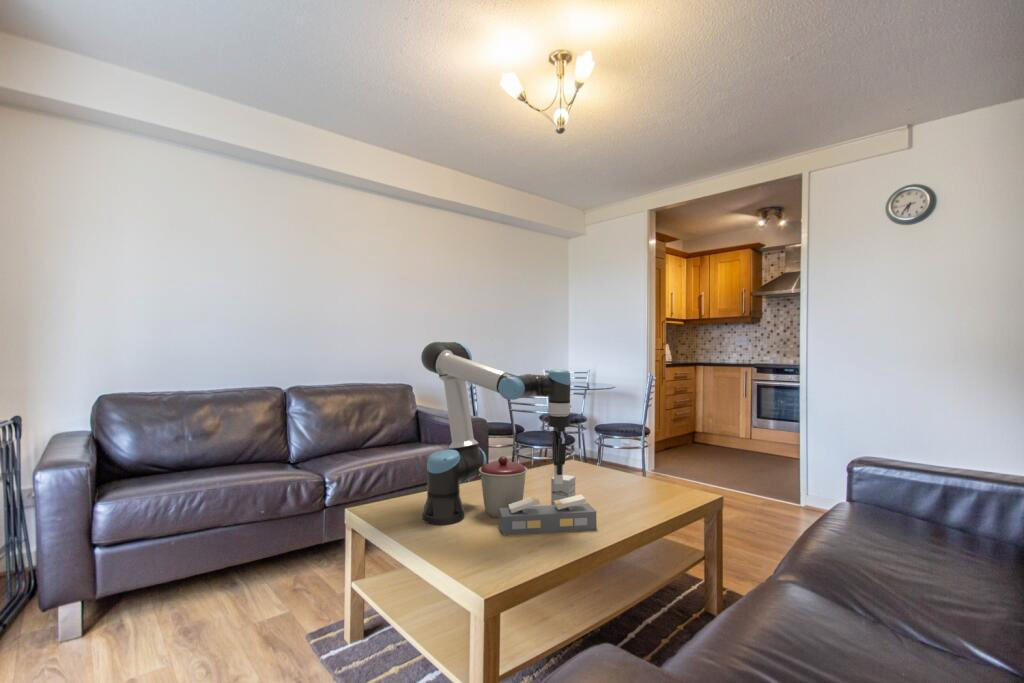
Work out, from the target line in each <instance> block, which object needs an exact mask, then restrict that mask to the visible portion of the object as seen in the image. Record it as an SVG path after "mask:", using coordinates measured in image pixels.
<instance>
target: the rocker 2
mask: <svg viewBox="0 0 1024 683" xmlns="http://www.w3.org/2000/svg"><path fill="white" fill-rule="evenodd" d="M584 503H587V500H586V498H585V497H584V495H582V493H580V494H575V496H572V497H568V498H564V499H560V500H556V501H554V505H555V506H556V508H557V509H562V508H566V507H570V506H574V505H578V504H584Z"/></svg>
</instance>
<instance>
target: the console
mask: <svg viewBox="0 0 1024 683" xmlns="http://www.w3.org/2000/svg"><path fill="white" fill-rule="evenodd" d="M498 526H499V529H500V532H501V535H502V536H511V535H512V536H514V535H527V534H529V535H531V534H546V533H561V532H563V533H565V532H576V531H577V532H578V531H581V532H582V531H595V530H597V529H598V528H597V526H598V525H597V511H596V510H595V509H594V507H592V505H591V504H589V503H588V502H586V503H582V504H578V505H574V506H570V507H566V508H562V509H557V508H556V506H555V505H551V504H549V505H548V504H547V505H534V506H532V507H529V508H526V509H523V510H520V511H517V512H514V513H511V511H510V509H509V507H508V508H499V518H498Z"/></svg>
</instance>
